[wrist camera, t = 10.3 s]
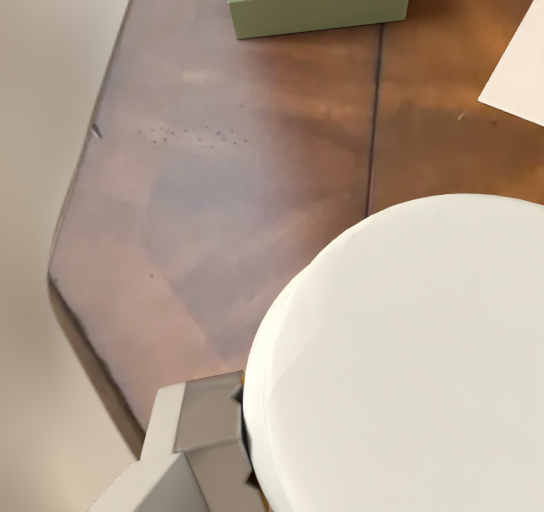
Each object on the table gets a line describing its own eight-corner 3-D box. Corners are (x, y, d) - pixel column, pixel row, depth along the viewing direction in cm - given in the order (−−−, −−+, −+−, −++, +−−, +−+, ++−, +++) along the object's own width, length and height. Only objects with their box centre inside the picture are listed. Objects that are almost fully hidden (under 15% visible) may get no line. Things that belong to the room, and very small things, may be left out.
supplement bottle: (281, 317, 14) (199, 143, 5) (461, 311, 14) (718, 104, 5) (284, 515, 12) (168, 769, 3) (492, 517, 12) (1006, 827, 3)
